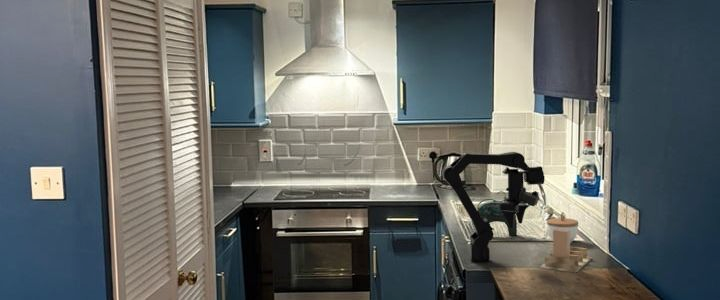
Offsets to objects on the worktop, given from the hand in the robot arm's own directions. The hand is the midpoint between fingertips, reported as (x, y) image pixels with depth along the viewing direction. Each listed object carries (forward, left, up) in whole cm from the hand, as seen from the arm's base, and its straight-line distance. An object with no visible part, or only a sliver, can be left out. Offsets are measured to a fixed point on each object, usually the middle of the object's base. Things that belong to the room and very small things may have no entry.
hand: (516, 225), depth 242 cm
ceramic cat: (-4, +40, -13) cm, 42 cm away
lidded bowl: (+22, +28, -13) cm, 38 cm away
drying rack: (+18, -6, -13) cm, 23 cm away
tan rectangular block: (+15, -11, -12) cm, 22 cm away
